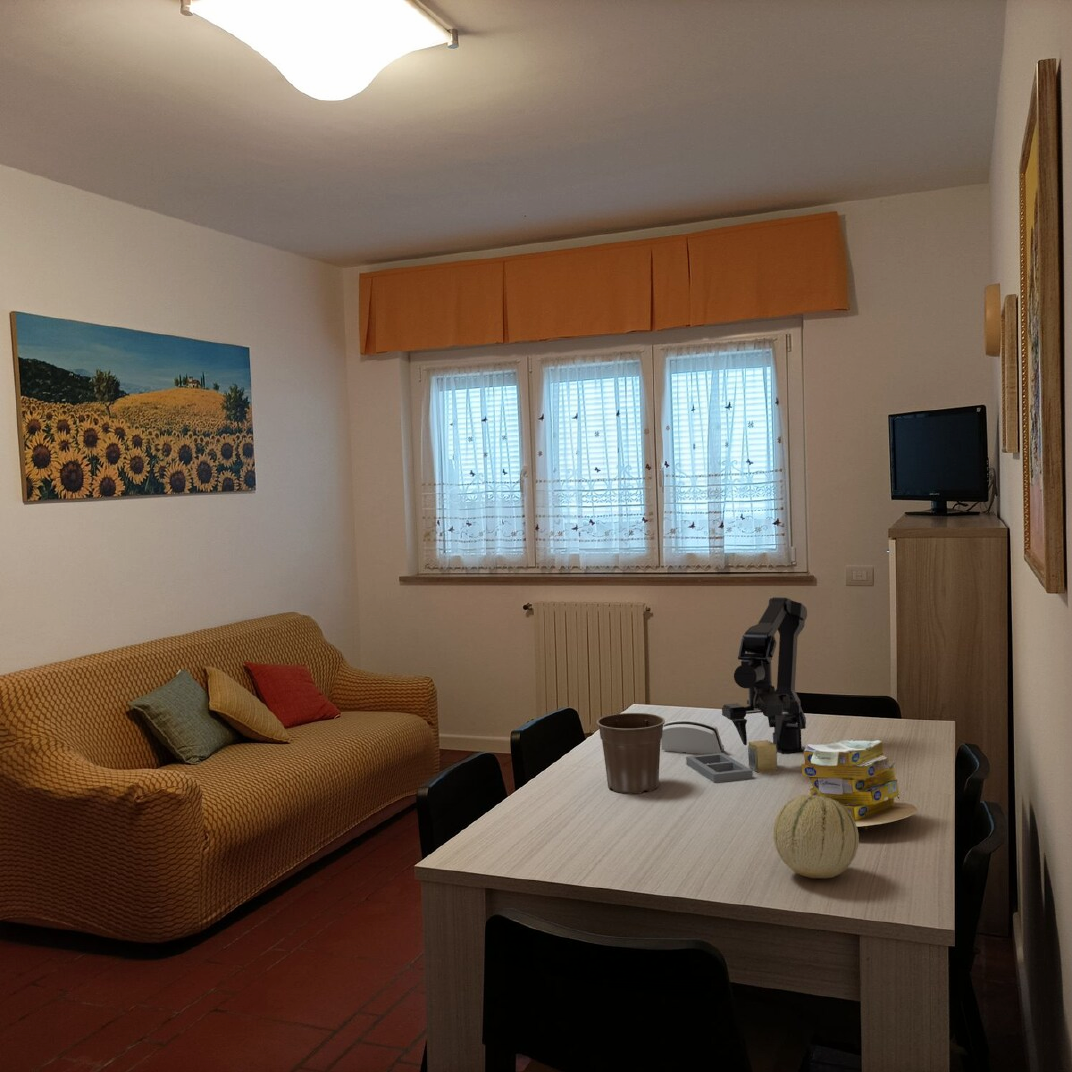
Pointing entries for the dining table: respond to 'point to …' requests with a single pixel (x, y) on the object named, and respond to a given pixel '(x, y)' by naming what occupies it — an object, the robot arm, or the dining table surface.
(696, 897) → the dining table surface
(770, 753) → the metal-backed wooden cube
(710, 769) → the gray rectangular tray
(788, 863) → the cantaloupe
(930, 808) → the dining table surface
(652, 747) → the plant pot
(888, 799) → the stacked yellow boxes
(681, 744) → the grey arched block
